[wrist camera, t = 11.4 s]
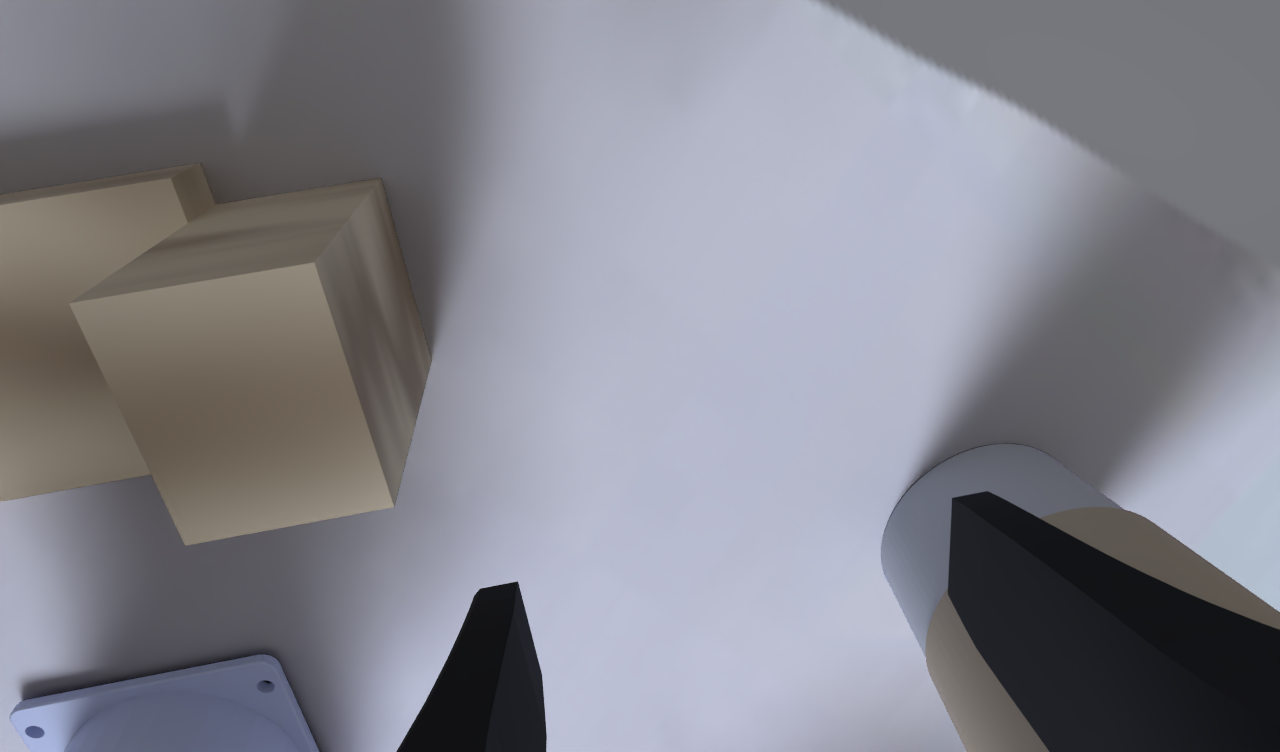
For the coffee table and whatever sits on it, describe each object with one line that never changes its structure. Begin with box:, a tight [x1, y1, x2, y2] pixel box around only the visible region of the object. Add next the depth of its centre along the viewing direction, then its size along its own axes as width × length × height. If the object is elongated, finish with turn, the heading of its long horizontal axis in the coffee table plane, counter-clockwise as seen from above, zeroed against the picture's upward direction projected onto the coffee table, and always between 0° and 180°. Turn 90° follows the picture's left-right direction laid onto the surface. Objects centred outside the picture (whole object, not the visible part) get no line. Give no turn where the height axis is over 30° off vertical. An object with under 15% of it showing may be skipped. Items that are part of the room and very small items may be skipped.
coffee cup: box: [881, 444, 1280, 752], centre depth 20 cm, size 9×9×15 cm
